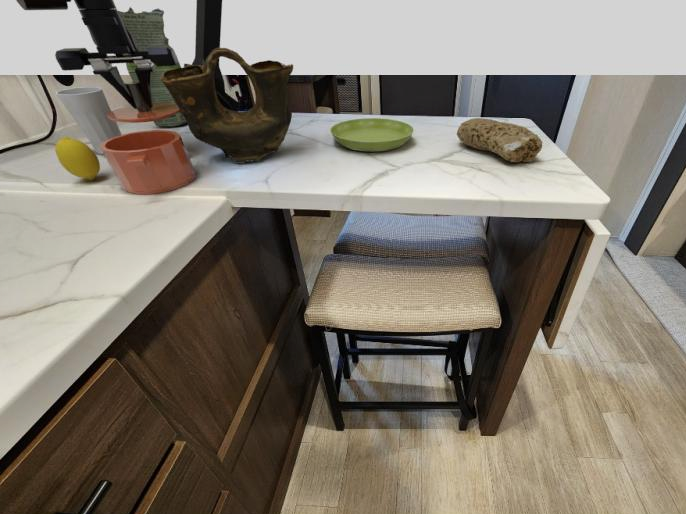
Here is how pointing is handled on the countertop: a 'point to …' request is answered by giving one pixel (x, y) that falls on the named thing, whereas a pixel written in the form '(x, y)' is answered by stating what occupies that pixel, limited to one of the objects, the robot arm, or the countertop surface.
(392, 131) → the saucer
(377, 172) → the countertop surface
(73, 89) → the cup
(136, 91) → the lid
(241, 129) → the pottery vessel
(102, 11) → the robot arm
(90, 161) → the lemon
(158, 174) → the pot
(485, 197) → the countertop surface
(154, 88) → the pouch
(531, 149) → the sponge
